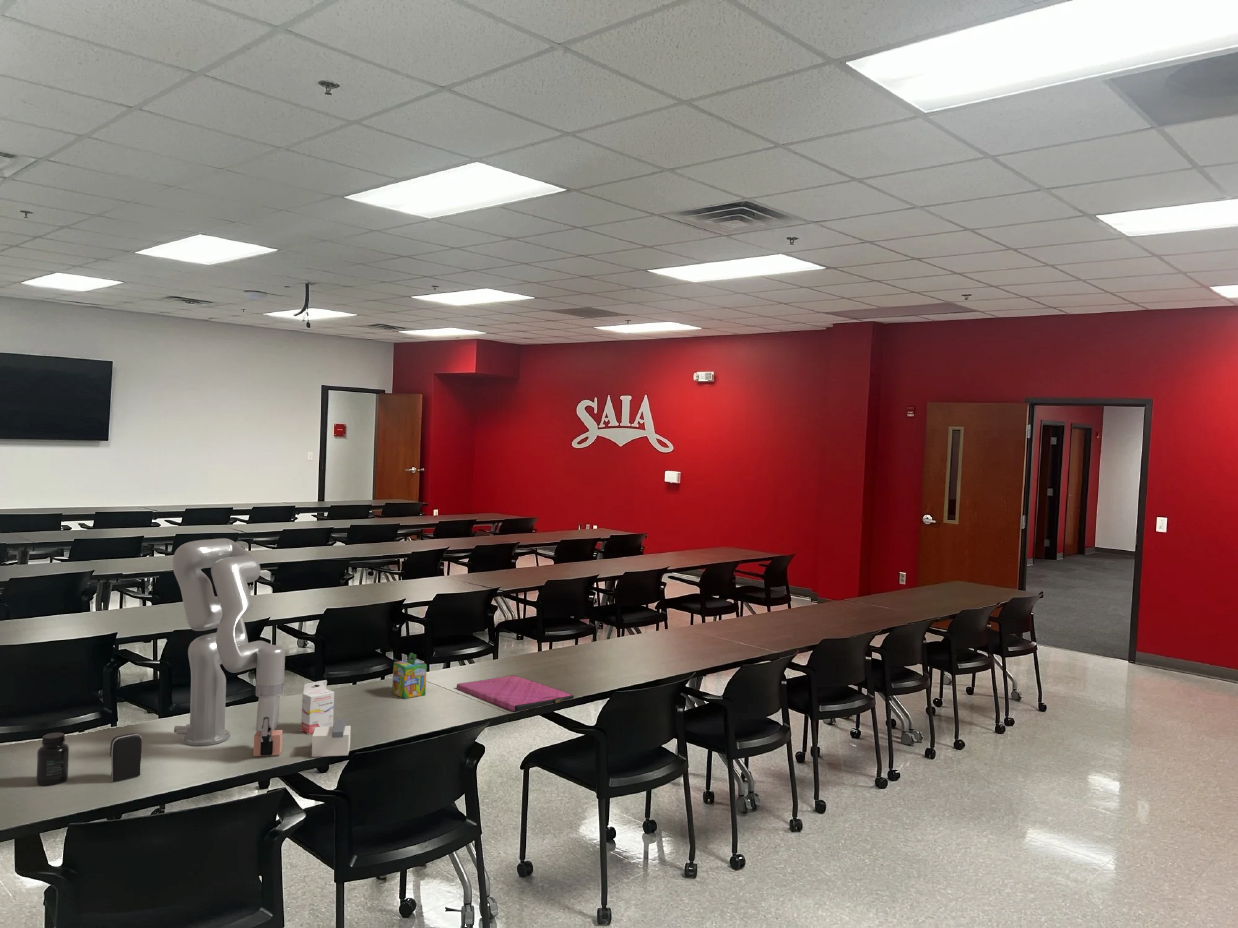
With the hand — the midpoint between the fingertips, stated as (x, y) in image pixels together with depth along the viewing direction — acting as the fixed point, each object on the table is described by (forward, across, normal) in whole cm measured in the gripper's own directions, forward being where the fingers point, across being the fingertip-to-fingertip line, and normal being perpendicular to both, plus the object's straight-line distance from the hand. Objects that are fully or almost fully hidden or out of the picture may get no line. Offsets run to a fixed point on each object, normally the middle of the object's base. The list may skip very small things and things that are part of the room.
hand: (267, 750), depth 245 cm
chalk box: (+1, -55, +40) cm, 68 cm away
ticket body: (+1, 0, +18) cm, 18 cm away
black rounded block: (+1, +13, -34) cm, 36 cm away
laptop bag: (+2, -50, +78) cm, 93 cm away
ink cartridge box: (+1, -20, +12) cm, 23 cm away
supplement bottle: (+1, +13, -50) cm, 52 cm away
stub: (+1, 0, 0) cm, 1 cm away
